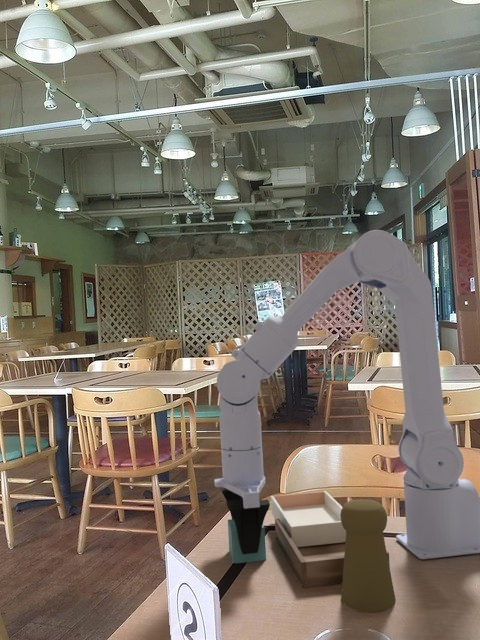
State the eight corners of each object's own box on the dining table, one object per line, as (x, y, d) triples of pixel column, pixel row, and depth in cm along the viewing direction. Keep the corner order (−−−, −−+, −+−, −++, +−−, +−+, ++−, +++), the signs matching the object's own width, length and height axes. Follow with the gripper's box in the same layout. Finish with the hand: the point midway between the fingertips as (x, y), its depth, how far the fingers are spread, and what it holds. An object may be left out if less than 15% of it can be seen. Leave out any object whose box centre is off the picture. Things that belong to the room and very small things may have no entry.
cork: (397, 613, 61) (391, 510, 62) (340, 610, 63) (334, 510, 63) (394, 587, 67) (388, 494, 67) (341, 585, 68) (336, 493, 69)
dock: (347, 531, 86) (346, 511, 86) (390, 577, 70) (388, 552, 70) (275, 539, 85) (274, 518, 85) (302, 587, 68) (301, 562, 69)
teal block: (260, 548, 82) (258, 516, 82) (266, 560, 77) (264, 527, 77) (229, 551, 81) (227, 519, 81) (233, 564, 77) (231, 530, 77)
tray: (326, 508, 94) (325, 490, 94) (357, 540, 79) (356, 520, 79) (271, 513, 92) (270, 496, 92) (292, 547, 78) (291, 527, 78)
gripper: (208, 439, 86) (213, 529, 86) (218, 460, 72) (223, 569, 71) (254, 435, 87) (259, 525, 87) (273, 455, 73) (278, 563, 72)
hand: (246, 544), depth 79 cm, fingers open, 5 cm apart
